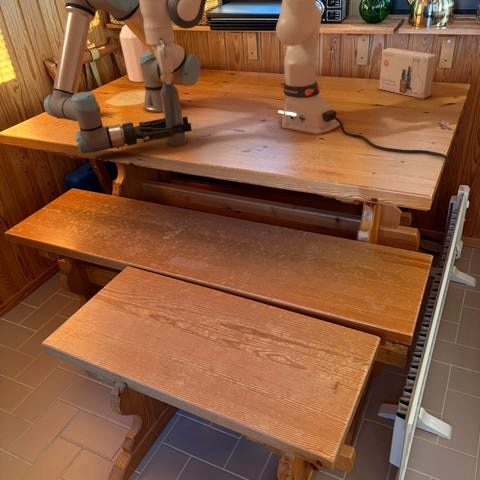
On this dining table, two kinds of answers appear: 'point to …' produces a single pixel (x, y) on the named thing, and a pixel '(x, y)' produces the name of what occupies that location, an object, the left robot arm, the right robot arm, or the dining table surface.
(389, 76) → the skincare box
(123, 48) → the container
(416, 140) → the dining table surface
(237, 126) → the dining table surface
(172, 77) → the cap
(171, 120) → the bottle
